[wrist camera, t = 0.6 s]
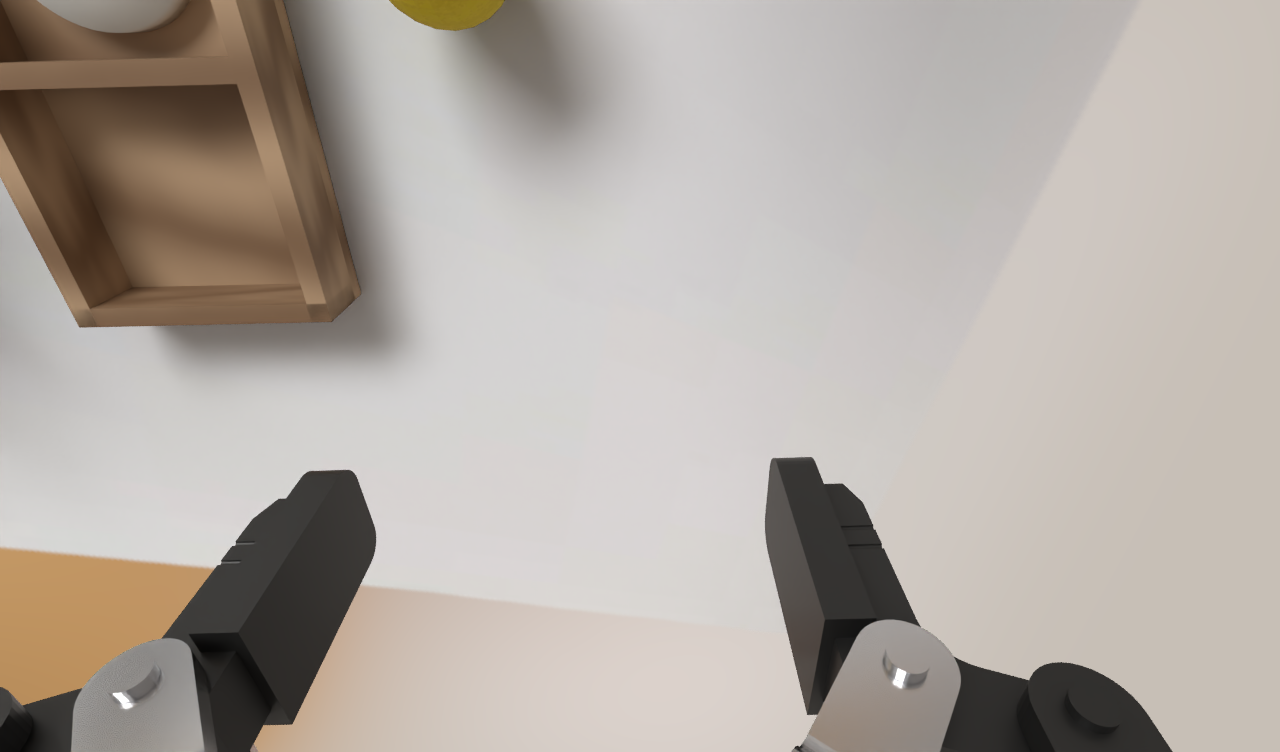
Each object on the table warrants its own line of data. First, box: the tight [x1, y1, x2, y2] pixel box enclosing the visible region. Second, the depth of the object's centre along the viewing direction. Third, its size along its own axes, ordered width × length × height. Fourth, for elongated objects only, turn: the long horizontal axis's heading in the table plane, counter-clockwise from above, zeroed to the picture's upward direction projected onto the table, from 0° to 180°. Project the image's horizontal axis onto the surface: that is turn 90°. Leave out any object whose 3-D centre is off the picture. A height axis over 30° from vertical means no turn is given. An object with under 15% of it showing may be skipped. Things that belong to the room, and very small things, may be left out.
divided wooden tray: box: [0, 0, 361, 327], centre depth 27 cm, size 23×13×4 cm, turn 1°
